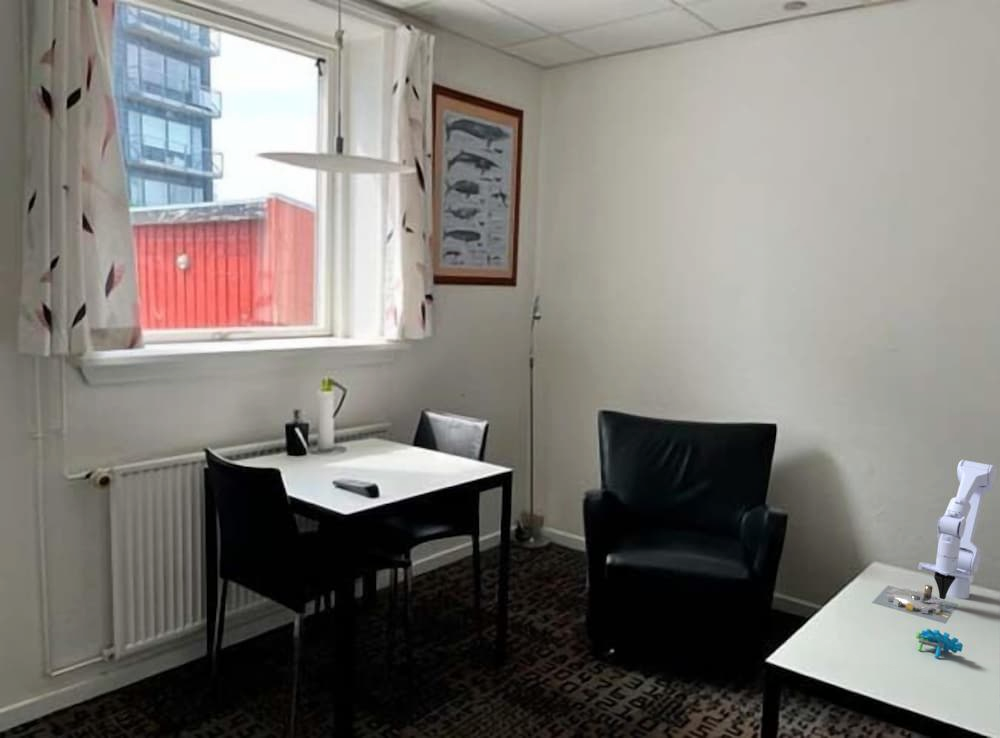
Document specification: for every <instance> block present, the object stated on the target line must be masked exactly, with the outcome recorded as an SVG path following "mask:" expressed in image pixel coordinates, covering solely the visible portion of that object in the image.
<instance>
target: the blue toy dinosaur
mask: <svg viewBox="0 0 1000 738" xmlns="http://www.w3.org/2000/svg"><path fill="white" fill-rule="evenodd" d="M915 638H916V639H917V640H918V643H919V645H918V649H917V650H918V652H922V648H923V646H929V647H933V648H935V649H936V650H935V653H934V658H935V659H940V656H941V652H942V650H943V652H947V653H949V652H950V651H951V652H952V653H954V654H957V653H958V652H959V653H960V652H962V650H963V646H964V645H963V643H961V642H959V638H956V637H955V636H954V637H952V638H950V634H949V633H948V632H943V634H942V633H941V631H940V629H939V630H938V629H934V630H932V629H930V628H926V629H925V630H924V629H923V630H921V632H916V635H915Z"/></svg>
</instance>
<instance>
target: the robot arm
mask: <svg viewBox="0 0 1000 738" xmlns="http://www.w3.org/2000/svg"><path fill="white" fill-rule="evenodd" d="M956 475H957V480H958V482H959V485H958V489H957V493H956V496H955V497H952V498H951V499H950V501H949V503H948V505H947V508H946V510H945V512H944V514H943V516H942V515H941V516H940V517H939V518H938V521H937V526H936V527H937V528H936V530H937V539H938V542H937V543H938V544H937V551H936V559H935V564H932V563H926V562H922V561H920V562H919V563H918V567H917V568H918V571H926V572H930V573H933V574H934V575H933V577H934V580H935V583H936V586H937V589H938V594H939V595H938V596H939V598H938V599H941V600H946V598H947V596H948V597H951V598H955V599H959V600H966V599H969V598H970V594H971V592H970V591H971V585H972V583H973V582H974V574H975V573H978V570H979V567H980V563H981V562H980V561H981V550H980V548H978V546H977V545H976V544H975V543H974V537H975V534H976V533H975V532H976V529H977V525H978V521H979V516H980V513H981V508H982V504H983V499H984V497H985V496H986V494H987V493H992V490H993V489H994V486H995V481H996V477H997V468H996V466H995V465H994V464H988V463H982V462H977V461H972V460H965V459H961V460H960V461H959V462H958V464H957V470H956Z"/></svg>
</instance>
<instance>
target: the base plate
mask: <svg viewBox="0 0 1000 738" xmlns="http://www.w3.org/2000/svg"><path fill="white" fill-rule="evenodd" d="M893 588H897V589H899V590H903V588H899V587H896V586H891V585H887V586H886V587H885V588H884V589H883V590H882V591H881V592H880V593H879V594H878V595H877V596H876V597H875V598H874V599H873V600H872V601H871V604H875V605H878V606H882V607H885V608H888V609H893V610H896V611H900V612H903V613H907V614H910V615H914V616H916V617H921V618H923V619H924V618H925V619H927V620H931V621H935V622H938V623H941V624H946V623H947V622H948V621H949V619H950V617H951V616H952V614H953V612H954V611H955V610H956V608H957V606H958V605H959V604H958V603H955V602H952V601H948V600H946V599H941V598H937V600H943V601H944V602H945V604H944V605H946V606H945V611H944V612H943V611H940V613H938V614H935V613H933V612H928V614H926V613H921V612H920V611H918V610H913V611H910V610H907V609H906V607H903V606H896V605H894V604H893V601H888V600H887V596H886V593H887V591H888V590H890V591H892V589H893Z"/></svg>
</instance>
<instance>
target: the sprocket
mask: <svg viewBox="0 0 1000 738" xmlns="http://www.w3.org/2000/svg"><path fill="white" fill-rule="evenodd" d="M897 588H898V587H896V588H893V589H892V591H890V590H888V591H887V593H886V596H887V600H888V601H893V604H894V605H896V606H903V607H906V609H907V610H910V611H913V610H918V611H920V612H921V613H926V614H928V612H933V613H935V614H938V613H940V611H943V612H944V611H945V606H946V605H944V604H945V602H944V601H943V600H944V599H941V600H937V599H938V596H936V595H933V585H930V584H925V585H924V591H922V590H917V591H914V590H911V589H910V588H902V589H903V590H899V589H897Z"/></svg>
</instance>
